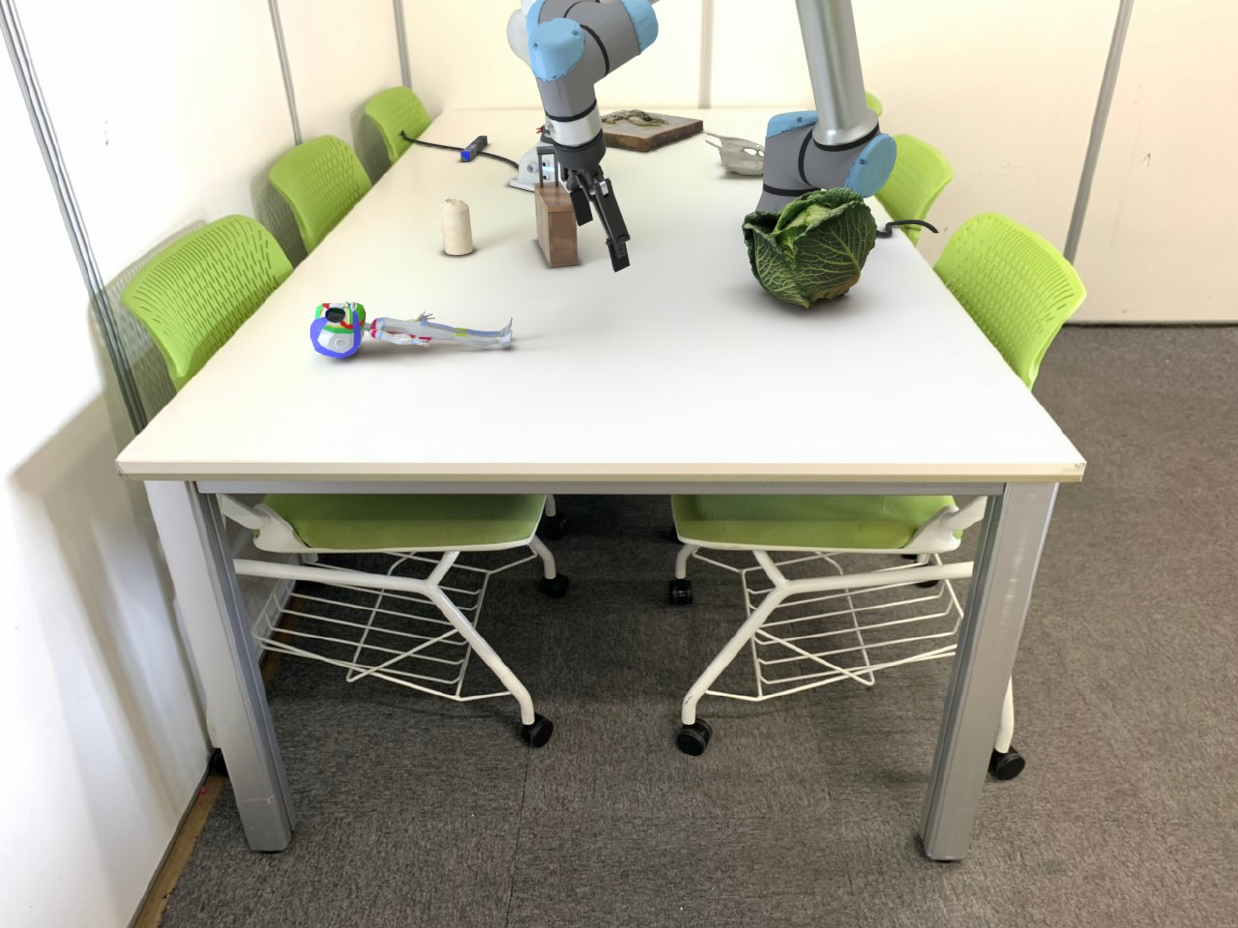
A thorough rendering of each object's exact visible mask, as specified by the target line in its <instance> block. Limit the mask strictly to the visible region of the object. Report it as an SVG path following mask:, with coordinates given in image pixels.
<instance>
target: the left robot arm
mask: <svg viewBox="0 0 1238 928" xmlns="http://www.w3.org/2000/svg"><path fill="white" fill-rule="evenodd" d="M535 1H537V0H520V7H521V8H518V9H515V10H513V12H512V13H511V15H510V16H509V19H508V21H507V24H506V31H505V32H506V40H507V42H508V43H507V44H508V46H509V48H510V50H511V52H513V54H514V55H515V56H516V57H517V58H518V59H520V60H521V61H523V62H524V63H525V64H526V65H527V66H528V67H529V68H530V70H532V65H531V60H530V55H529V48H528V39H529V36H528V32H527V28H526V19H527V14H528V11H529V9H530V7H531V6H532V5H533V3H534V2H535ZM544 118H545V119H544V120H545V121H544V122H545V123H544V124H543V125H541V126H540V127H537V128H535V130H536V132H535V133H536V134H540V138H539V141H538V142H536V143H535V144H534V145H533V146H532V147H530V149H529V150H527V151H526V152H525V153H524V154H523V155H522V156H521V157H520V158H519V159H520V160H519V164H518V163H517V162H515V161H513V160H511V159H509V158H506V157H504V156H502V155H497V154H494V153H490V152H486V151H482V150H481V151H477V154H476V155H481V156H486V157H489V158H490V157H491V158H494V159H499V160H501V161H504V162H507V163H509V164H512V165H513V166H514V167H515V168H516V169H517V170H518V174H516V175H514V176H513V177H512V178H511V179H510V180H509V186H511V187H514V188H517V189H518V188H519V189H523V190H527V191H531V192H534V190H535V189H534V183H539V168H538V155H537V152H536V147H540V146H553V143H552V137H551V134H550V130H547V129H546V128H545V126H544V125H545V124H546V123H547V122H548V121H547V118H546V115H545V114H544ZM400 135H401V136H402V137H403V138H404V139H405V140H406V141H409V142H412V143H417V144H421V145H424V146H430V147H435V148H439V149H446V150H454V151H460V152H462V151H463V150H464V149H465V148H463V147H458V146H451V145H444V144H439V143H433V142H427V141H423V140H418V139H414V138H411V137H408V136H407V134H406V133H405V130H403V129H402V130H401V131H400ZM542 167H543V183H544V182H555V176H554V157H553V154H551V155H542ZM558 175H559V181H560V182H561V184H562V185H563V187H564V188H565V190H566V191H567V193H568V194H569V193H570V192H571V191H568V189H567V188H566V183H567V182H566V181H565V182H563V181H562V180H561V176H560V164H559V162H558ZM580 188H581V186H580ZM569 195H570V194H569Z"/></svg>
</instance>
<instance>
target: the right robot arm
mask: <svg viewBox="0 0 1238 928" xmlns="http://www.w3.org/2000/svg"><path fill="white" fill-rule="evenodd" d="M660 1H661V0H537V1H535V2H534V3H533V5H532V6H531V7H530V9H529V11H528V14H527V19H526V28H527V32H528V36H529V39H528V48H529V55H530V60H531V65H532V69H531V71H532V74H533V75H534V80H535V82H536V86H537V89H538V93H539V96H540V100H541V104H542V108H543V111H544V116H545V115H546V118H547V121H548V122H547V123H546V122H545V123H544V124H545V125H544V124H543V125H544V126H545V128H546V129H547V130H550V134H551V137H552V143H553V147H554V150H555V154H556V158H557V161H558V162H559V164H560V176H561V180H562V181H563V182H565V181H566V182H567V183H566V188H567V189H568V191H571V192H570V193H569V196H570V198H571V202H572V206H573V210H574V214H575V217H576V225H577V226H578V227H579V228H580V227H582V226H584V225H586V224H588V223H591V222H592V221H594V217H593V213H592V209H591V204H590V202H591V203H592V205H593V207H594V209H595V213H596V214H597V217H598V218H599V221H600V223H601V226H602V227H603V229H604V233H605V234H606V237H607V238H605V240H606V241H604V244H605V246H607V250H608V253H609V257H610V263H611V267H612V271H613V272H614V273H615V274H616V273H618V272H620V271H622V270H624V269H626V268H628V267H630V266H631V262H630V258H629V253H628V248H627V244H626V242H627V243H628V242H629V241H631V235H630V233H629V230H628V227H627V225H626V222H625V220H624V217H623V214H622V212H621V209H620V206H619V203H618V201H617V198H616V195H615V192H614V189H613V184H612V180H611V179H610V178H609V177H606V178H605V177H604V174H605V173H604V171H603V168H602V166H601V165H600V163H601V161H602V160H603V159H604V157H605V155H606V153H607V146H606V144H605V139H604V134H603V130H602V127H601V124H602V122H601V117H600V116H601V113H600V108H599V104H598V100H597V96H596V89H595V84H596V83H599V82H600V81H602V80H603V79H604V78H606V77H607V76H608V75H610V74H612V73H613V72H614V71H616V70H618V69H619V68H620V67H622V66H623V65H626V63H628V62H629V61H631V60H633V59H634V58H636V57H639V56H641V55H642V53H643V52H644V51H646V49H647V48H650V46H651V45H653V44H654V43H655V42H656V41H657V38H658V35H659V21H658V19H657V13H656V11H655V9H654V7H653V5H655V4H656V3H658V2H660ZM794 2H795V8H796V13H797V18H798V24H799V29H800V35H801V39H802V44H803V49H804V54H805V59H806V65H807V70H808V76H809V79H810V80H809V81H810V86H811V89H812V95H813V100H814V106H815V110H799V111H789V112H783V113H778V114H775V115H773V116H772V117H770V118H769V120H768V122H767V125H766V126H767V127H766V132H765V133H766V135H765V137H764V147H765V155H764V154H763V156H764V173H763V174H762V175H763V177H762V192H761V195H760V197H759V200H758V202H757V205H756V207H755V209H754V212H755V211H758V210H762V211H774V212H777V211H779V210H781V209H784V208H785V207H786V205H787V204H789V203H791V202H792V201H793V200H795V199H796V198H798V197H800V196H802V195H804V194H806V193H809V192H814V191H822V190H829V189H831V188H832V187H834V188H836V187H840V188H852V190H853V191H854V192H856V193H859V194H861V195H862V197H863V200H864V199H868V198H871V197H874V196H875V195H877V193H878V192H880V191H881V190H882V188H883V187H885V185H886V183H888V181H889V179H890V177H891V175H892V172H893V170H894V168H895V165H896V161H897V155H898V147H897V142H896V140H895V138H894V137H893V136H891V135H890V134H888V133H886V132H885V133H884V132H883V133H882V132H881V129H880V122H879V116H878V113H877V112H876V110H874V109H872V108H870V107H868V101H867V97H866V90H865V83H864V76H863V70H862V63H861V56H860V51H859V44H858V36H857V31H856V24H855V23H856V22H855V18H854V11H853V3H852V0H794ZM580 186H581V188H580ZM592 192H593V194H591V193H592ZM904 225H916V226H922V227H924V228H926V229H928V230H929V231H931V233H932V234H940V232H939V230H938V229H937V228H936V227H935V226H934V225H933V224H931V223H929V222H927V221H925V220H921V219H902V220H894V221H893V220H892V221H889V222H886V223H885V230H886V231H881V230H879V229H878V228H877V229H876V234H875V236H878V237H890V236H891V235H893V229H892V227H896V226H904Z"/></svg>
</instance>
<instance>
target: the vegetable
mask: <svg viewBox="0 0 1238 928" xmlns="http://www.w3.org/2000/svg"><path fill="white" fill-rule="evenodd" d="M871 212H872V209H871V207H870V205H869V204H866V203H865V200H864V199H863V197H862V195H861V194H859V193H856V192H854V191H853V190H852V188H840V187H836V188H834V187H832V188H831V189H829V190H825V189H823V190H821V191H814V192H809V193H806V194H804V195H802V196H800V197H798V198H796V199H795V200H793V201H792V202H791V203H789V204H787V205H786V207H785V208H784V209H781V210H779V211H777V212H774V211H762V210H758V211H755V210H754V211H752V212H749V213H747V214H746V215H745V216H744V218H743V220H744V221H742V224H741V230H742V233H743V239H744V240H743V243H744V245H745V246H746V247H747V256H748V259H749V264H750V266H751V269H750V271H751V273H752V275H753V277H754V278H755V279H756V280H757V282H758V284H759V285H760V287H762V289H763V290H764V292H765V293H767V292H770V293H771V294H772V295H774V297H776V298H778V299H779V300H781V301H782V302H785V303H788V304H792V305H800V306H802V307H804V308H805V309H807V310H808V309H809V307H814V304H813V302H816V301H817V300H818V299H824V298H825V299H829V300H833V299H834V298H835V297H844V295H845V294H847V293H849V291H850V289H851V288H852V287H854V286H855V285H856V284H857V283H858V282H859V280H860V278H861V275H862V271H863V268H864V267H865V263H866V261H867V259H868V256H869V255H870V252H871V251H872V250H874V249H875V247H876V240H877V235H876V229H877V230H878V225H877V223H876V218H875V217H874V215H873V214H872V213H871Z"/></svg>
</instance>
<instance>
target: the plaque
mask: <svg viewBox="0 0 1238 928" xmlns="http://www.w3.org/2000/svg"><path fill="white" fill-rule="evenodd" d="M600 117H601V122H602V124H601V127H602V130H603V134H604V139H605V144H606V147H612V148H620V149H625V150H632V151H640V152H648V151H654V150H656V149H659V148H662V147H663V146H664V147H665V146H667V145H670V144H672V143H676V142H680V141H682V140H684V139H687V138H691V137H692V136H694V135H696V134H698V133H700V132H704V130H705V129H704V120H702V119H698V118H693V117H685V116H679V115H669V114H663V113H659V112H650V111H644V110H642V109H637V108H636V109H635V108H634V109H630V110H629V109H620V110H616V111H613V112H610V113H608V114H602V115H600Z"/></svg>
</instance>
